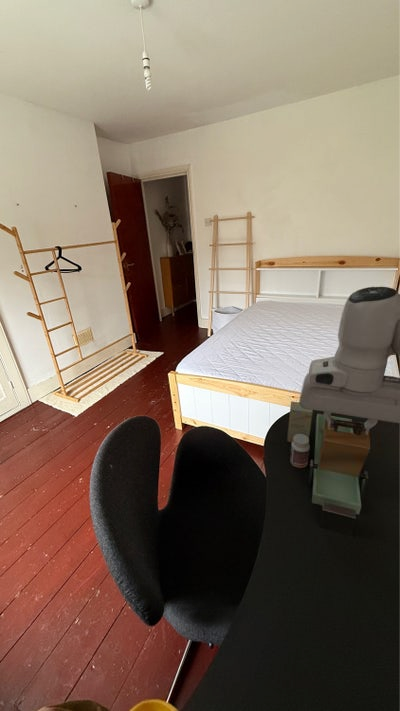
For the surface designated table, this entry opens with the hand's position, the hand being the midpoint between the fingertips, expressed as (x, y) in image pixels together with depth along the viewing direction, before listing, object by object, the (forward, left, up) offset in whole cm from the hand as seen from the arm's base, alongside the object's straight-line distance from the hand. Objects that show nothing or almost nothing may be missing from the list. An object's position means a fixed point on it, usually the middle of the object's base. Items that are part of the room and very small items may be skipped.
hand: (346, 429), depth 63 cm
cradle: (+2, +2, -21) cm, 21 cm away
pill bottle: (-1, -13, -21) cm, 25 cm away
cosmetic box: (-7, -19, -21) cm, 30 cm away
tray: (-10, -8, -21) cm, 24 cm away
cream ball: (-16, -16, -19) cm, 30 cm away
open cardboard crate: (+1, +1, -6) cm, 7 cm away
